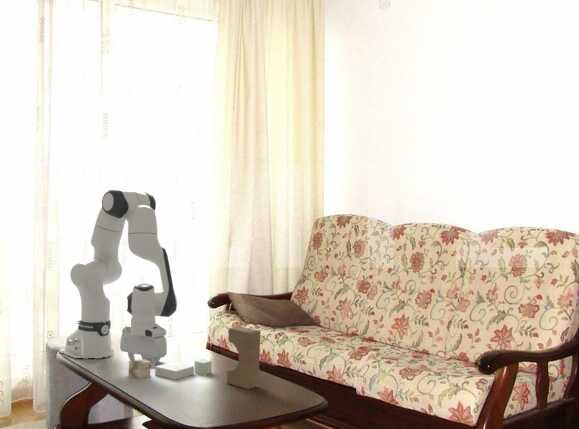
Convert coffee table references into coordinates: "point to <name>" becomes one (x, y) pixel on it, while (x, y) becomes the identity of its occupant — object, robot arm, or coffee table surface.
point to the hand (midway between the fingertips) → (142, 366)
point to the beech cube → (139, 368)
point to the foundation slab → (174, 370)
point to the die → (149, 358)
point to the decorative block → (245, 357)
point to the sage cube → (203, 366)
